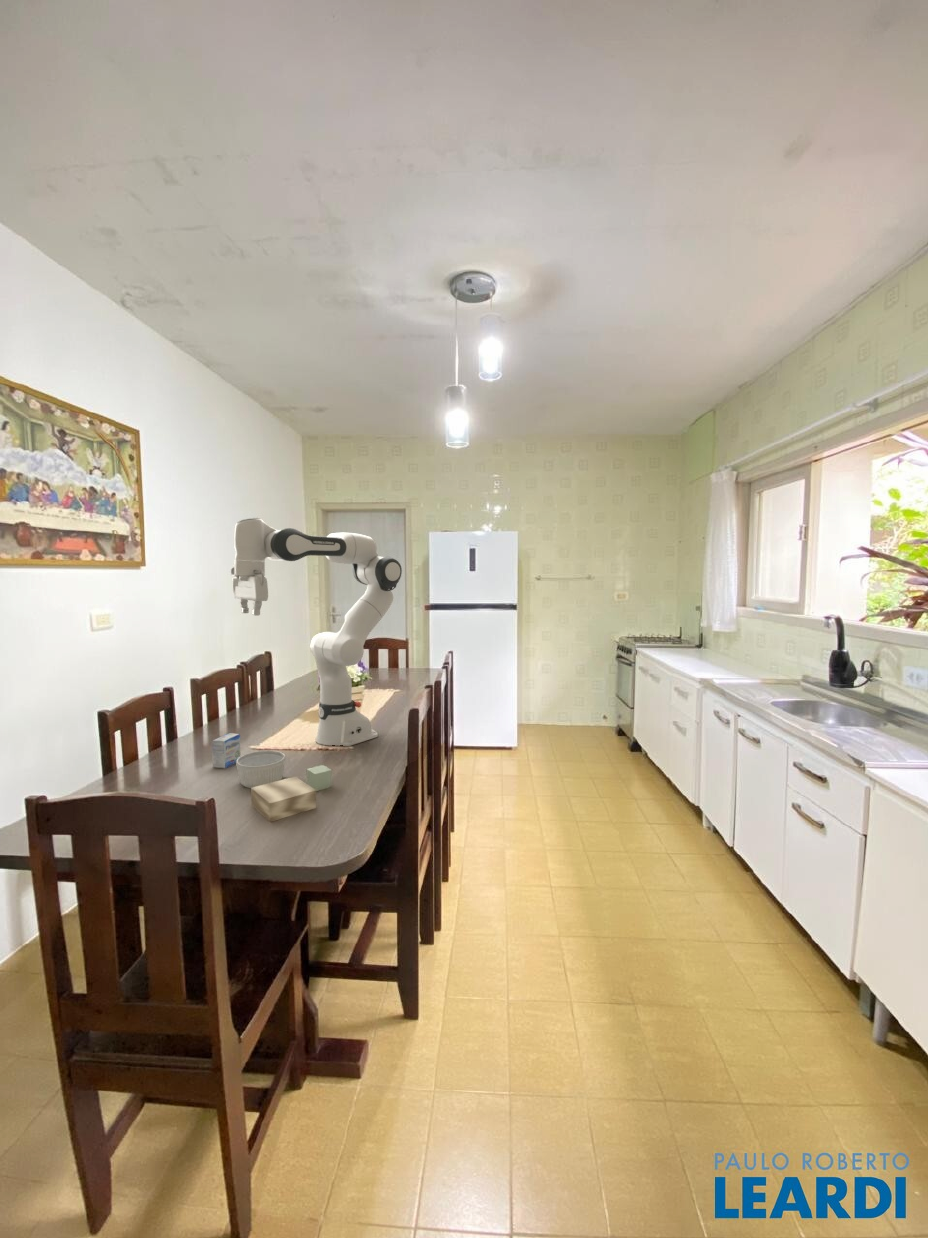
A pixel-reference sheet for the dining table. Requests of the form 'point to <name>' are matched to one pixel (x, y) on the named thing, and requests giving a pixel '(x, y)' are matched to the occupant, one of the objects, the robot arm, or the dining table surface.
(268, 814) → the birch block
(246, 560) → the robot arm
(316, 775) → the sage cube
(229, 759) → the medicine box
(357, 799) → the dining table surface
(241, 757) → the ramekin
